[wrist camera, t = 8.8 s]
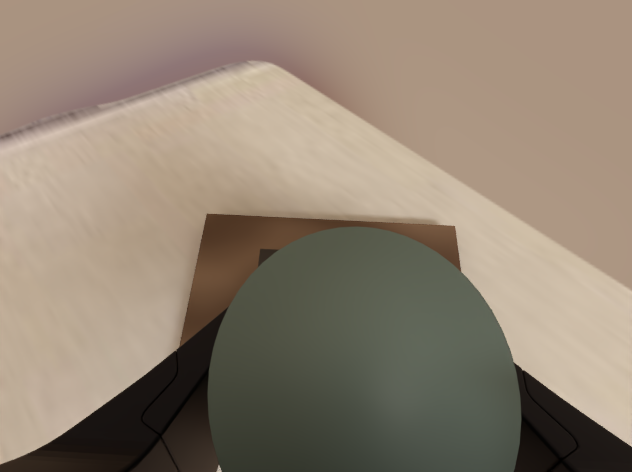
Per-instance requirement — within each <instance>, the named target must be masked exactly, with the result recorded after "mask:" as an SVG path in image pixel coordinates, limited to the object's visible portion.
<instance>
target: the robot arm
mask: <svg viewBox="0 0 632 472" xmlns="http://www.w3.org/2000/svg"><path fill="white" fill-rule="evenodd" d="M228 307H229V306H228ZM228 307H227V308H226V309H225V310H224V311H222V312H221V313H220V314H219V315H218V316H216V317H215V318H214V319H213V320H212V321H210V322H209V323H208V324H207V325H206V326H204V327H203V328H202V329H201V330H199V331H198V332H197V333H196V334H195V335H193V336H192V337H191V338H190V339H189V340H187V341H186V342H185V343H184V344H183V345H181V346H180V347H179V348H178V349H177V352H176V351H174V352H173V353H172V354H170V355H169V356H168V357H167V358H166V359H164V360H163V361H162V362H161V363H159V364H158V365H157V366H156V367H154V368H153V369H152V370H151V371H149V372H148V373H147V374H146V375H144V376H143V377H142V378H140V379H139V380H137V381H136V382H135V383H133V384H132V385H131V386H129V387H128V388H127V389H125V390H124V391H123V392H121V393H120V394H118V395H117V396H116V397H114V398H113V399H111V400H110V401H109V402H107V403H106V404H104V405H103V406H102V407H100V408H99V409H97V410H96V411H95V412H93V413H92V414H90V415H89V416H88V417H86V418H85V419H84V420H82V421H81V422H79V423H78V424H77V425H75V426H74V427H72V428H71V429H70V430H68V431H67V432H65V433H64V434H62V435H61V436H59V437H58V438H56V439H54V440H53V441H51V442H49V443H48V444H46V445H44V446H42V447H40V448H38V449H37V450H35V451H32V452H30V453H28V454H26V455H24V456H21V457H19V458H16V459H14V460H11V461H9V462H6V463H3V464H1V465H0V472H216V471H217V468H218V465H219V462H218V458H217V455H216V452H215V448H214V445H213V441H212V435H211V429H210V423H209V415H208V379H209V368H210V362H211V357H212V352H213V347H214V344H215V340H216V337H217V334H218V331H219V327H220V325H221V323H222V321H223V318H224V316H225V314H226V312H227V309H228ZM514 366H515V369H516V373H517V379H518V385H519V391H520V402H521V431H520V444H519V450H518V455H517V460H516V465H515V469H514V472H632V447H631V446H630V445H628V444H627V443H625V442H624V441H622V440H621V439H619V438H618V437H617V436H615V435H614V434H612V433H611V432H609V431H608V430H606V429H605V428H603V427H602V426H601V425H599V424H598V423H596V422H595V421H593V420H592V419H590V418H589V417H587V416H586V415H585V414H583V413H582V412H580V411H579V410H577V409H576V408H575V407H573V406H572V405H570V404H569V403H568V402H566V401H565V400H563V399H562V398H560V397H559V396H558V395H556V394H555V393H554V392H552V391H551V390H550V389H548V388H547V387H546V386H544V385H543V384H542V383H540V382H539V381H538V380H536V379H535V378H534V377H532V376H531V375H530V374H528V373H527V372H526V371H522V369H521V368H520V367H519V366H518V365H516V364H515V363H514Z"/></svg>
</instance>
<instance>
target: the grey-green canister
mask: <svg viewBox="0 0 632 472" xmlns="http://www.w3.org/2000/svg"><path fill="white" fill-rule="evenodd" d="M208 415H209V423H210V429H211V435H212V441H213V445H214V448H215V452H216V455H217V458H218V462H219V465H220V468H221V470H222V472H514V469H515V465H516V460H517V455H518V450H519V444H520V431H521V402H520V391H519V385H518V379H517V373H516V369H515V366H514V362H513V358H512V355H511V351H510V348H509V346H508V343H507V341H506V338H505V336H504V333H503V331H502V329H501V327H500V325H499V323H498V321H497V319H496V317H495V316H494V314H493V312H492V310H491V309H490V307H489V306H488V304H487V303H486V301H485V300H484V298H483V297H482V295H481V294H480V292H479V291H478V290H477V289H476V288H475V287H474V285H473V284H472V283H471V282H470V281H469V279H468V278H467V277H466V276H465V275H464V274H463V273H462V272H460V271H459V270H458V269H457V268H456V267H455V266H454V265H453V264H452V263H451V262H449V261H448V260H447V259H445V258H444V257H443V256H441V255H440V254H439V253H437V252H436V251H434V250H432V249H431V248H429V247H427V246H426V245H424V244H422V243H420V242H418V241H416V240H413V239H411V238H409V237H407V236H404V235H401V234H398V233H395V232H391V231H387V230H382V229H377V228H370V227H339V228H333V229H328V230H322V231H319V232H316V233H313V234H310V235H306V236H304V237H302V238H300V239H298V240H296V241H293V242H291V243H290V244H288V245H286V246H285V247H283V248H281V249H280V250H278V251H277V252H275V253H274V254H273V255H272V256H270V257H269V258H268V259H267V260H265V261H264V262H263V263H262V264H261V265H260V266H259V267H258V268H257V269H256V270H255V271H254V272H253V273H252V274H251V275H250V276H249V277H248V279H247V280H246V281H245V283H244V284H243V285H242V287H241V288H240V289H239V291H238V292H237V294H236V295H235V297H234V299H233V301H232V302H231V304H230V306H229V307H228V309H227V312H226V314H225V316H224V318H223V321H222V323H221V325H220V327H219V331H218V334H217V337H216V340H215V344H214V347H213V352H212V357H211V362H210V368H209V379H208Z"/></svg>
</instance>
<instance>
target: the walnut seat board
mask: <svg viewBox="0 0 632 472" xmlns="http://www.w3.org/2000/svg"><path fill="white" fill-rule="evenodd" d="M339 227H370V228H377V229H382V230H387V231H391V232H395V233H398V234H401V235H404V236H407V237H409V238H411V239H413V240H416V241H418V242H420V243H422V244H424V245H426V246H427V247H429V248H431V249H432V250H434V251H436V252H437V253H439V254H440V255H441V256H443V257H444V258H445V259H447V260H448V261H449V262H451V263H452V264H453V265H454V266H455V267H456V268H457V269H458V270H459V271H460V272H461V268H460V260H459V253H458V245H457V238H456V231H455V226H444V225H424V224H404V223H383V222H363V221H343V220H323V219H302V218H282V217H262V216H241V215H221V214H207V216H206V221H205V226H204V230H203V235H202V240H201V245H200V250H199V255H198V259H197V264H196V269H195V274H194V279H193V284H192V288H191V293H190V298H189V303H188V308H187V313H186V317H185V322H184V327H183V332H182V337H181V342H180V346H181V345H183V344H184V343H185V342H186V341H187V340H189V339H190V338H191V337H192V336H193V335H195V334H196V333H197V332H198V331H199V330H201V329H202V328H203V327H204V326H206V325H207V324H208V323H209V322H210V321H212V320H213V319H214V318H215V317H216V316H218V315H219V314H220V313H221V312H222V311H224V310H225V309H226V308H227V307H228V306H230V304H231V302H232V301H233V299H234V297H235V295H236V294H237V292H238V291H239V289H240V288H241V287H242V285H243V284H244V283H245V281H246V280H247V279H248V277H249V276H250V275H251V274H252V273H253V272H254V271H255V270H256V269H257V268H258V267H259V266H260V265H261V264H262V263H263V262H264V261H265V260H267V259H268V258H269V257H270V256H272V255H273V254H274V253H275V252H277V251H278V250H280V249H281V248H283V247H285V246H286V245H288V244H290V243H291V242H293V241H296V240H298V239H300V238H302V237H304V236H306V235H310V234H313V233H316V232H319V231H322V230H328V229H333V228H339ZM180 346H179V347H180Z"/></svg>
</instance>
